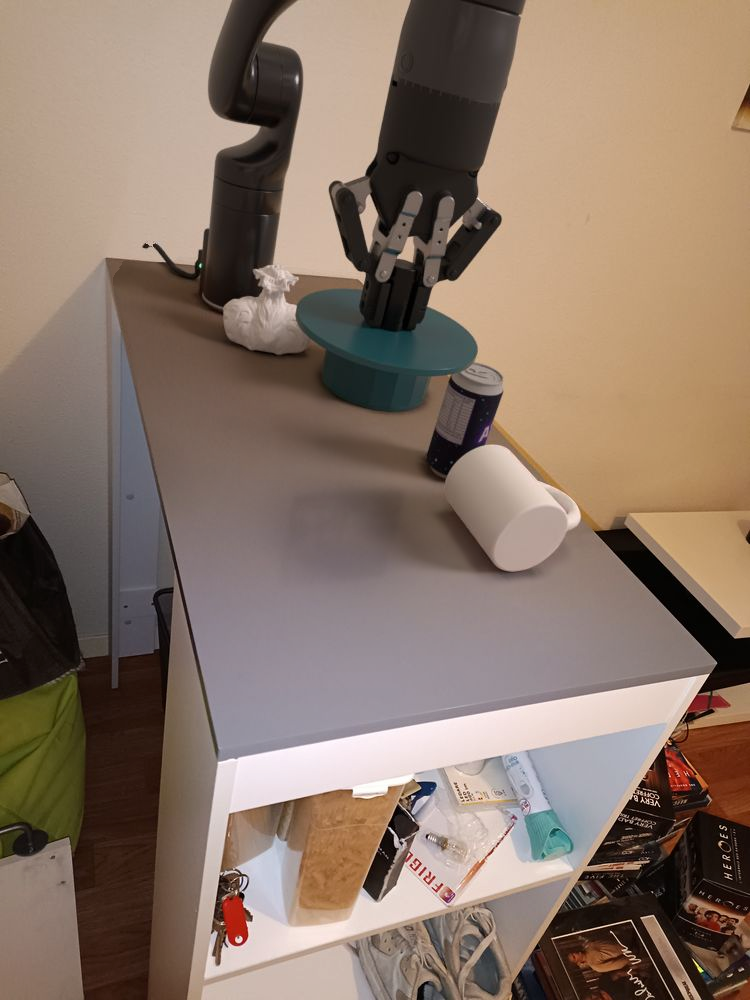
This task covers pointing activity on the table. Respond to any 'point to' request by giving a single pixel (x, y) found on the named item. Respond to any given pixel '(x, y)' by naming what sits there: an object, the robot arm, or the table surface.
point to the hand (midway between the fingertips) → (388, 323)
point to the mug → (508, 507)
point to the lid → (387, 330)
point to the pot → (372, 385)
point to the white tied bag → (266, 316)
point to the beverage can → (464, 416)
